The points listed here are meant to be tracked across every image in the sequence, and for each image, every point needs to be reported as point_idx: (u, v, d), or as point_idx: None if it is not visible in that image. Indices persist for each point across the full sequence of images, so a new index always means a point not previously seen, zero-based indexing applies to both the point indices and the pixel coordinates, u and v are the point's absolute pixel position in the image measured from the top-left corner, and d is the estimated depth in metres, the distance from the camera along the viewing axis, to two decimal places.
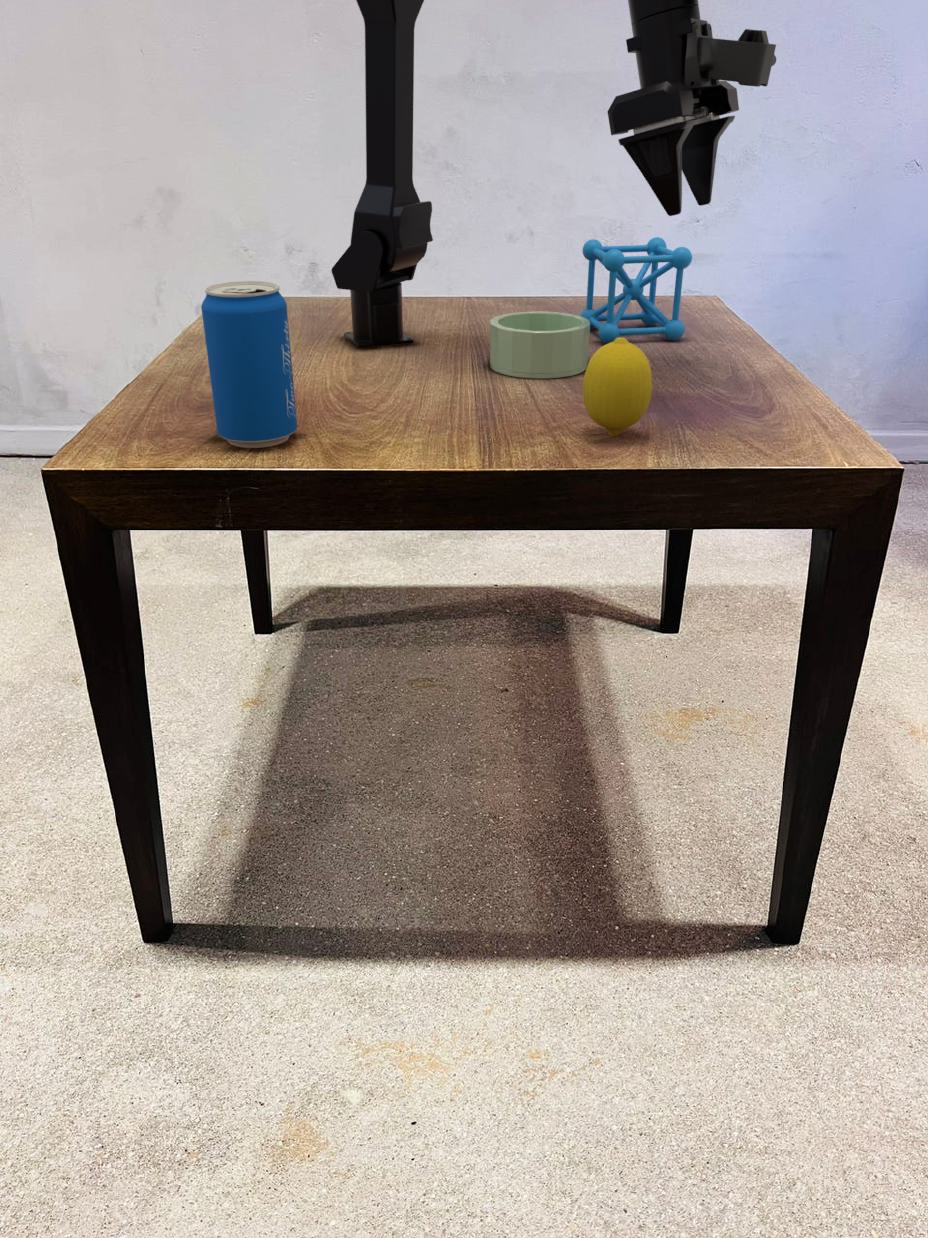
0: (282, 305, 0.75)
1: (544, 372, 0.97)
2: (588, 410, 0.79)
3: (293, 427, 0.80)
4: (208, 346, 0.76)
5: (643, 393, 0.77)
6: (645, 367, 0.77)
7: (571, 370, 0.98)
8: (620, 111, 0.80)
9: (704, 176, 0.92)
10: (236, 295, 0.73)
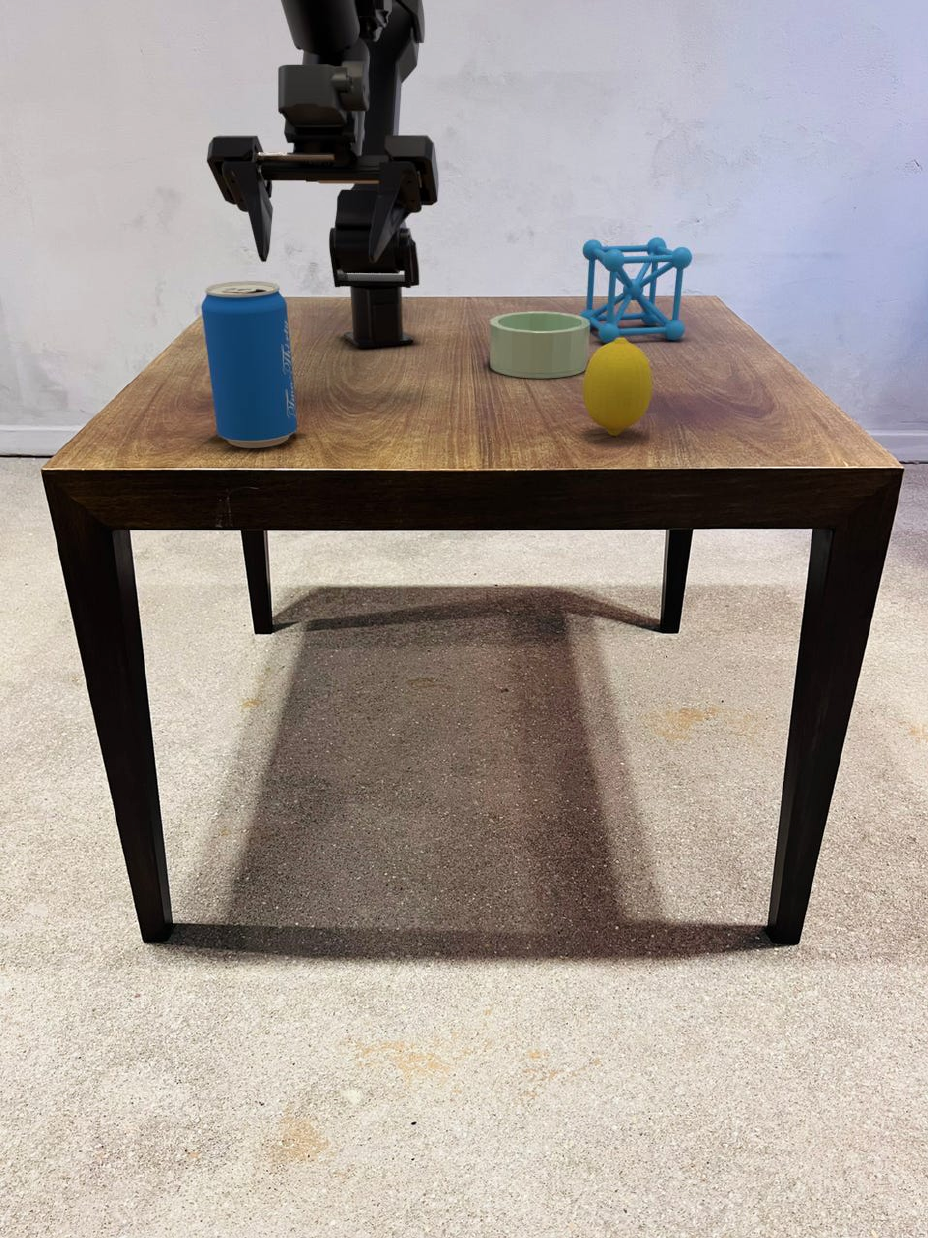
0: (282, 305, 0.75)
1: (544, 372, 0.97)
2: (588, 410, 0.79)
3: (293, 427, 0.80)
4: (208, 346, 0.76)
5: (643, 393, 0.77)
6: (645, 367, 0.77)
7: (571, 370, 0.98)
8: None
9: None
10: (236, 295, 0.73)
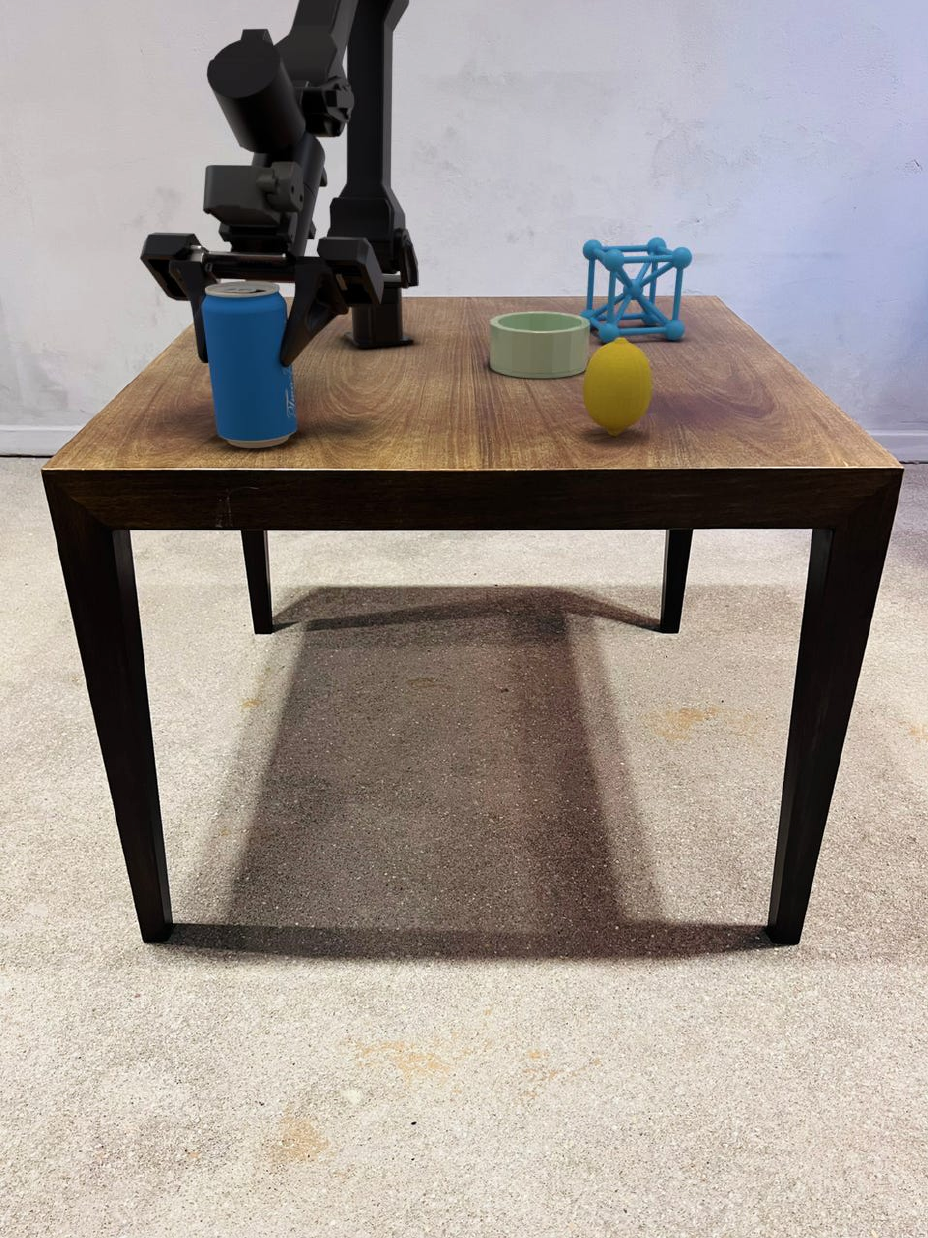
0: (282, 305, 0.75)
1: (544, 372, 0.97)
2: (588, 410, 0.79)
3: (293, 427, 0.80)
4: (208, 346, 0.76)
5: (643, 393, 0.77)
6: (645, 367, 0.77)
7: (571, 370, 0.98)
8: None
9: None
10: (236, 295, 0.73)
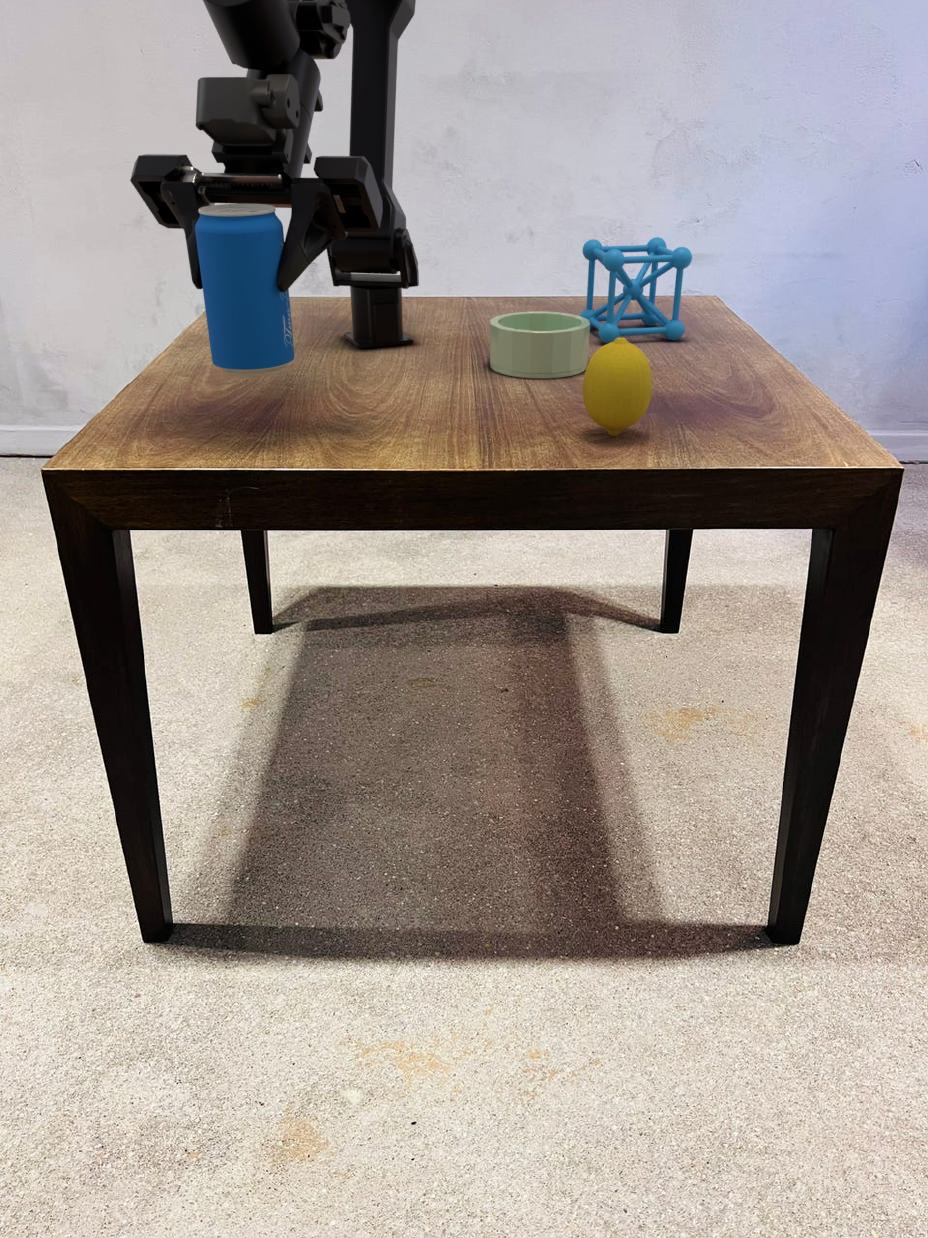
0: (279, 226, 0.73)
1: (544, 372, 0.97)
2: (588, 410, 0.79)
3: (290, 356, 0.77)
4: (202, 269, 0.73)
5: (643, 393, 0.77)
6: (645, 367, 0.77)
7: (571, 370, 0.98)
8: None
9: None
10: (231, 214, 0.70)
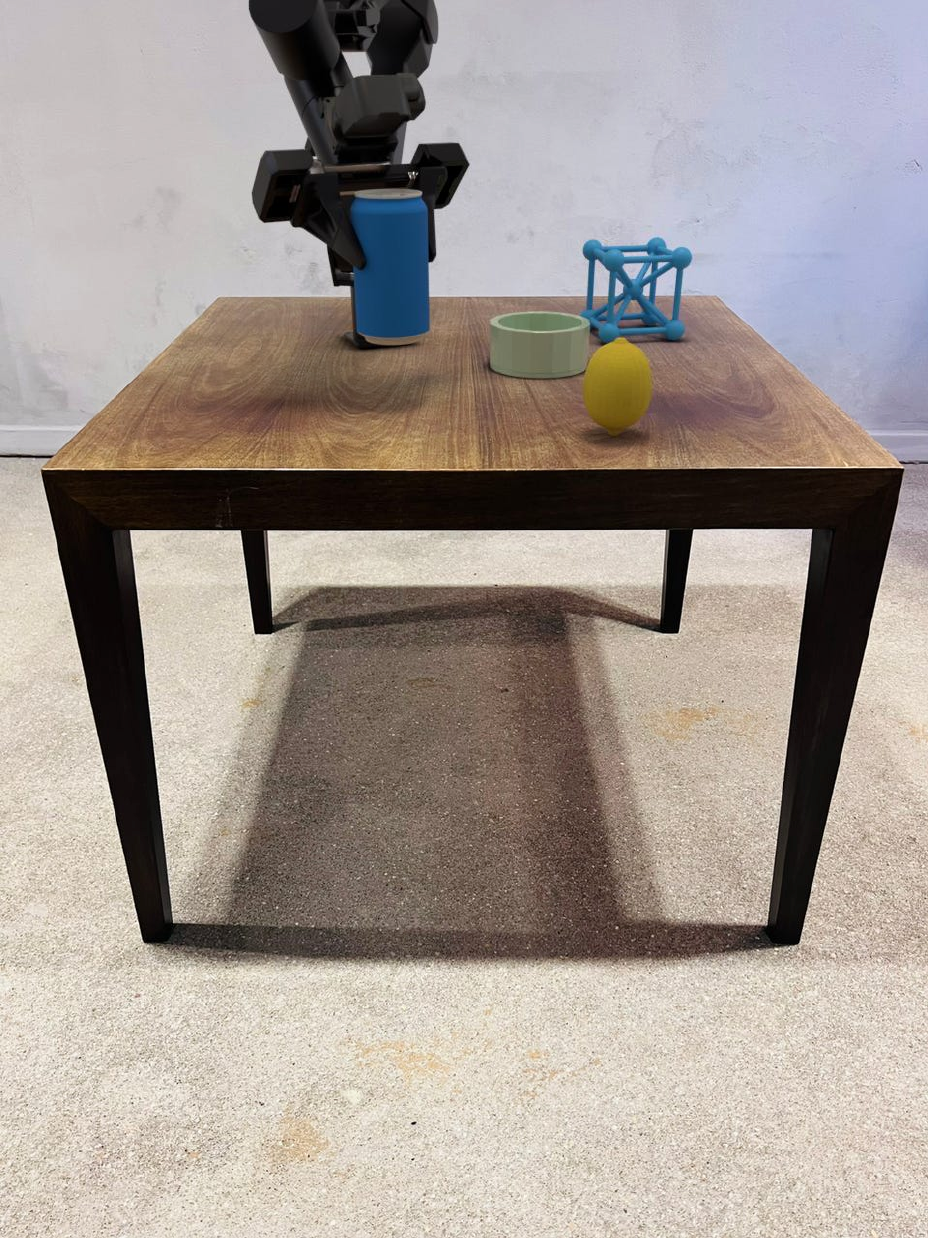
0: None
1: (544, 372, 0.97)
2: (588, 410, 0.79)
3: None
4: (378, 250, 0.81)
5: (643, 393, 0.77)
6: (645, 367, 0.77)
7: (571, 370, 0.98)
8: (254, 197, 0.82)
9: None
10: (411, 195, 0.80)
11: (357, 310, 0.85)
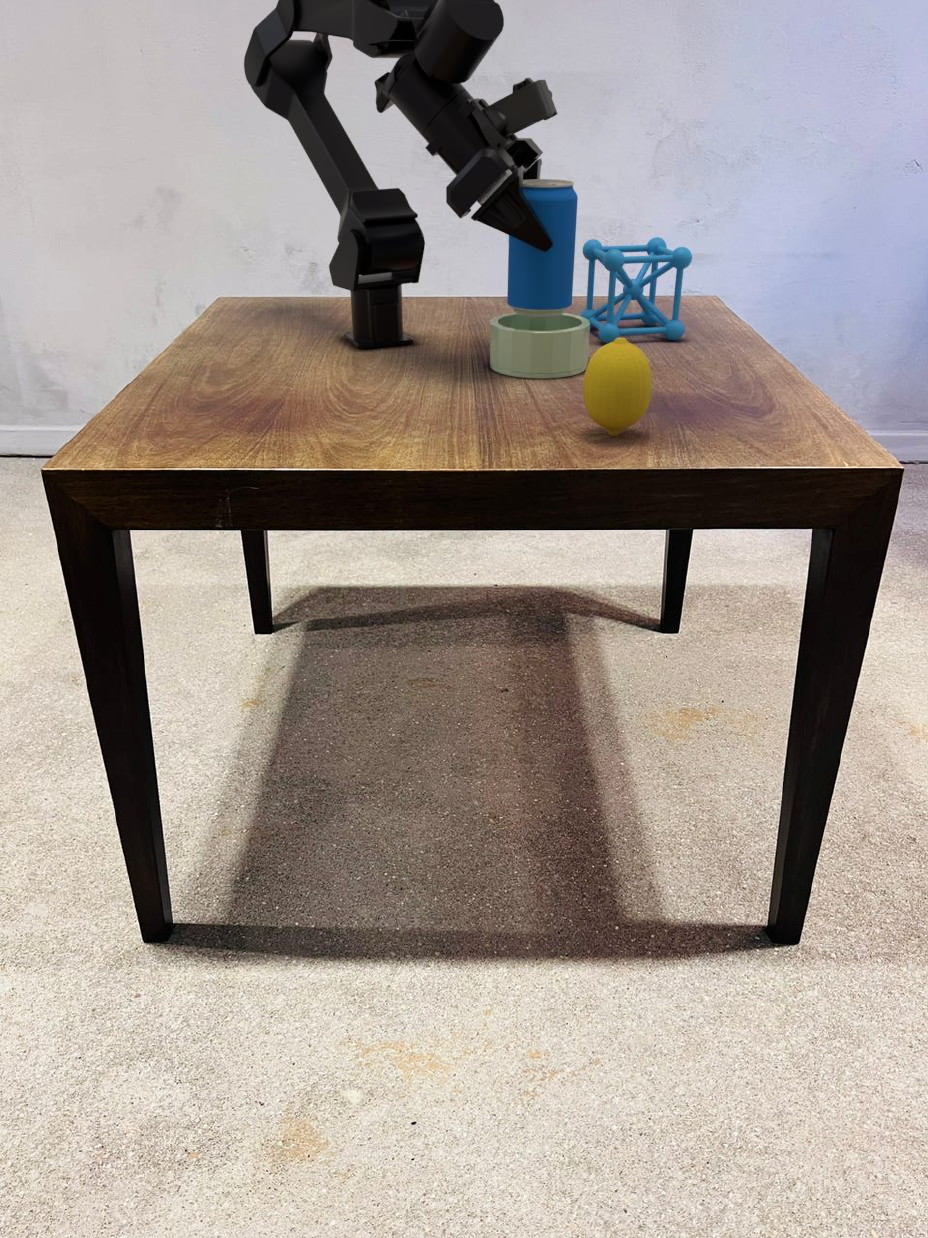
0: None
1: (544, 372, 0.97)
2: (588, 410, 0.79)
3: None
4: (561, 231, 0.93)
5: (643, 393, 0.78)
6: (645, 367, 0.77)
7: (571, 370, 0.98)
8: (457, 195, 0.87)
9: None
10: (573, 182, 0.93)
11: (529, 289, 0.95)
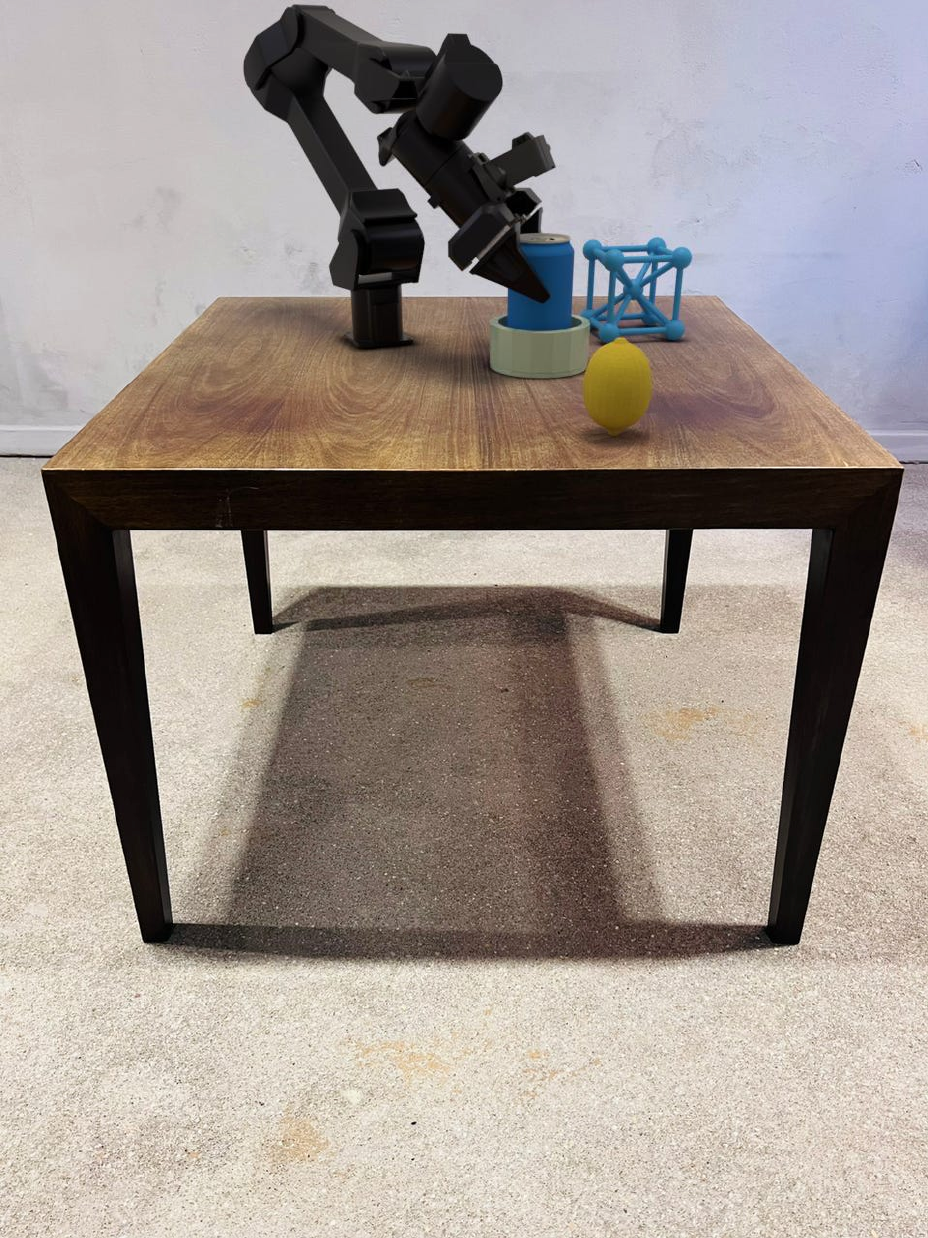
0: None
1: (544, 372, 0.97)
2: (588, 410, 0.79)
3: None
4: (559, 285, 0.95)
5: (643, 393, 0.77)
6: (645, 367, 0.77)
7: (571, 370, 0.98)
8: (458, 249, 0.89)
9: None
10: (570, 237, 0.96)
11: None
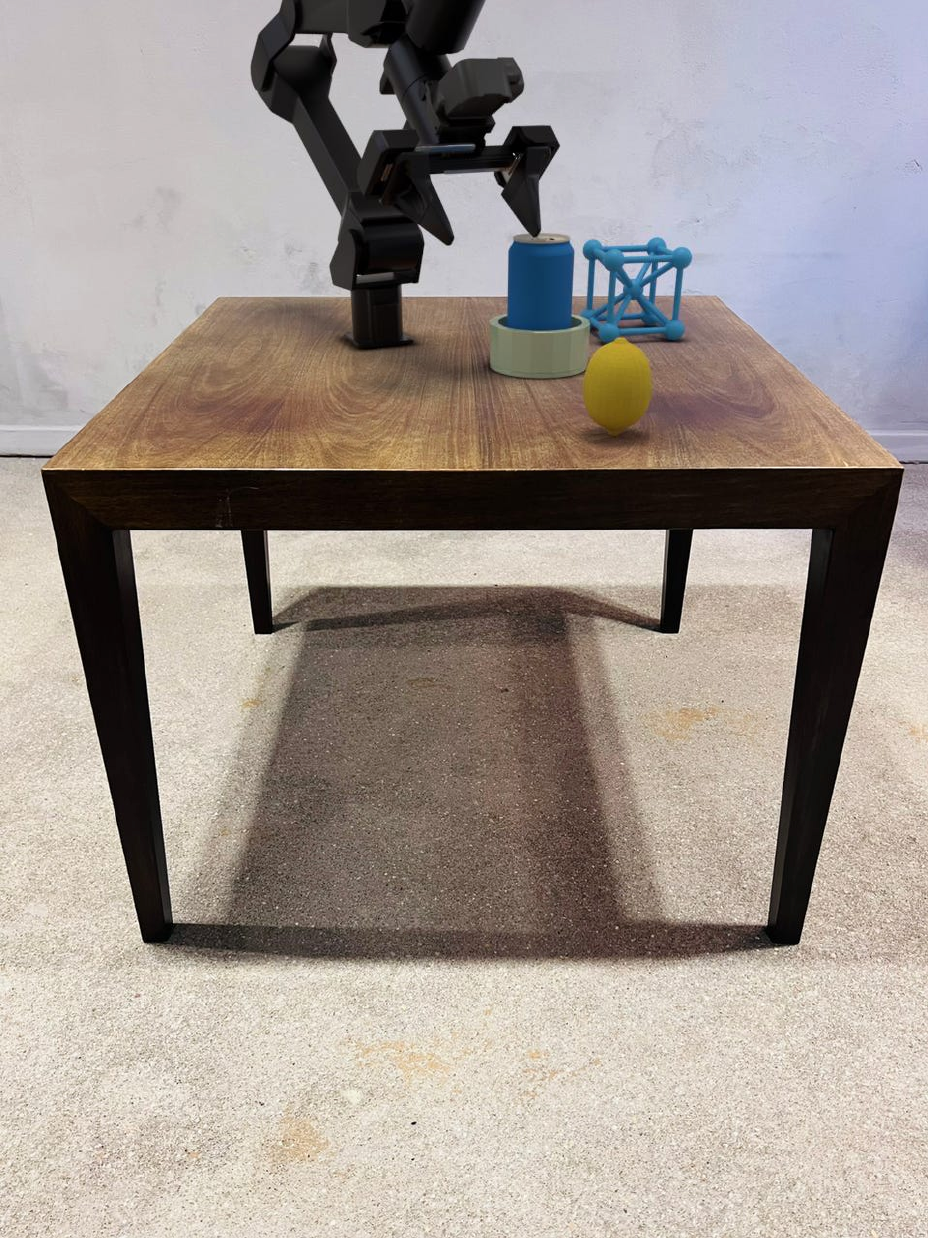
0: None
1: (544, 372, 0.97)
2: (588, 410, 0.79)
3: None
4: (559, 285, 0.95)
5: (643, 393, 0.78)
6: (645, 367, 0.77)
7: (571, 370, 0.98)
8: (360, 175, 0.86)
9: (528, 209, 0.89)
10: (570, 237, 0.96)
11: None
